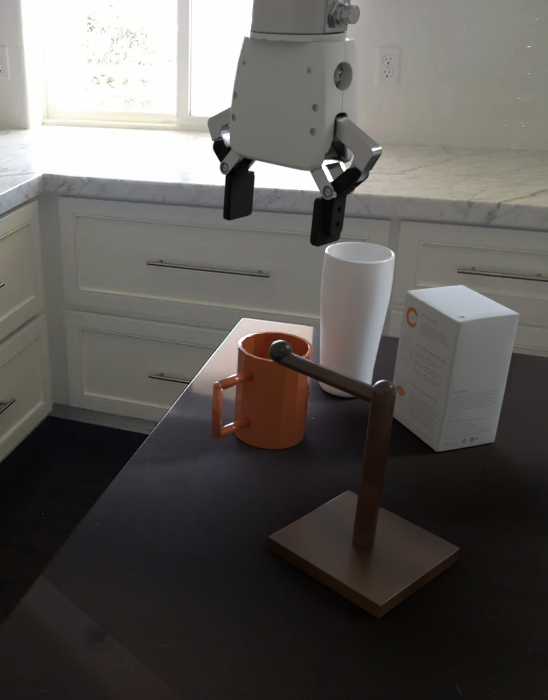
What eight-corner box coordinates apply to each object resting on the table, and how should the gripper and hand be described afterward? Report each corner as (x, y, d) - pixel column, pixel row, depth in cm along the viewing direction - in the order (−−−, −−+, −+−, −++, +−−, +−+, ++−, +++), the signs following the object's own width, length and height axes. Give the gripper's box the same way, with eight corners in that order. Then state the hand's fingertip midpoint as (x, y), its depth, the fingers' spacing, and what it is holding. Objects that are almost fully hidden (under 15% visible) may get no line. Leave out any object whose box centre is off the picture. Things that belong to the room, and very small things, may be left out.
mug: (265, 408, 87) (271, 325, 84) (319, 433, 83) (328, 347, 79) (185, 444, 81) (188, 357, 78) (238, 474, 76) (244, 383, 73)
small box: (495, 443, 80) (522, 313, 75) (435, 453, 79) (458, 321, 73) (441, 404, 87) (463, 282, 82) (385, 412, 86) (403, 289, 81)
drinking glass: (310, 399, 89) (324, 260, 83) (310, 371, 95) (323, 239, 89) (379, 405, 87) (399, 264, 81) (375, 376, 93) (393, 243, 87)
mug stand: (298, 476, 76) (313, 320, 70) (458, 560, 65) (493, 384, 59) (218, 519, 70) (227, 353, 64) (378, 619, 60) (407, 432, 53)
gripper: (424, 21, 64) (391, 245, 71) (247, 11, 76) (234, 202, 83) (362, 27, 59) (334, 264, 67) (186, 15, 72) (178, 216, 79)
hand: (279, 229), depth 75 cm, fingers open, 9 cm apart
